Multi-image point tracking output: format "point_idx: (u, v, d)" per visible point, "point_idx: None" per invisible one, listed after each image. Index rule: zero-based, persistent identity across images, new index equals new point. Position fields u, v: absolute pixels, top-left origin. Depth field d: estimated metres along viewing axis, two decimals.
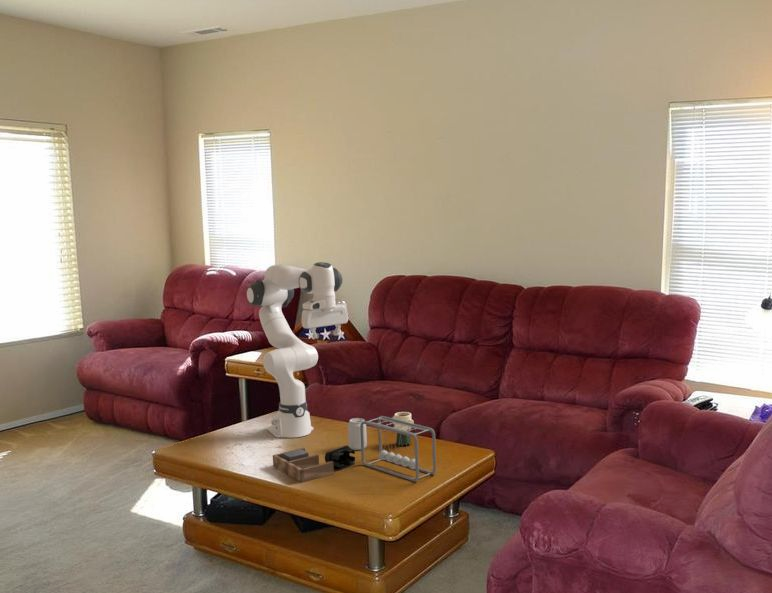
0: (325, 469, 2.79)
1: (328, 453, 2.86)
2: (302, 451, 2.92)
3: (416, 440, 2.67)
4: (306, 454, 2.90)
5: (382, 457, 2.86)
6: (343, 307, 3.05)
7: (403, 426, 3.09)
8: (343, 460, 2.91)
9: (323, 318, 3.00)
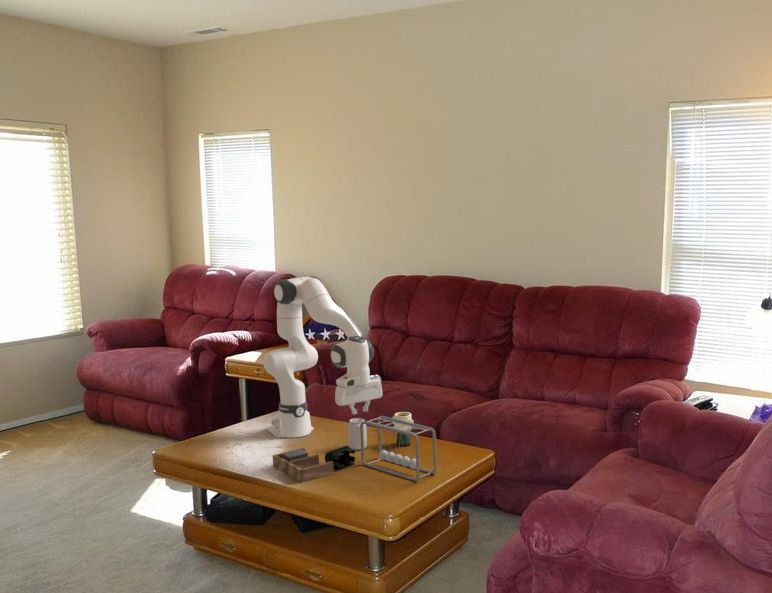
0: (325, 469, 2.79)
1: (328, 453, 2.86)
2: (302, 451, 2.92)
3: (417, 440, 2.68)
4: (305, 454, 2.90)
5: (382, 457, 2.86)
6: (377, 381, 2.95)
7: (403, 426, 3.09)
8: (343, 460, 2.91)
9: (357, 394, 2.90)
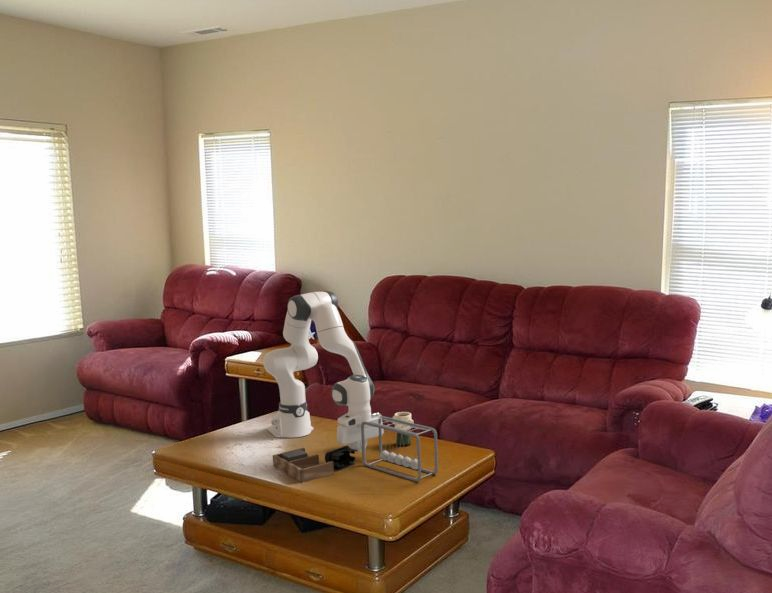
0: (325, 469, 2.79)
1: (328, 453, 2.86)
2: (301, 451, 2.91)
3: (418, 440, 2.67)
4: (305, 454, 2.89)
5: (383, 457, 2.86)
6: None
7: (403, 426, 3.09)
8: (343, 460, 2.91)
9: (358, 433, 2.92)
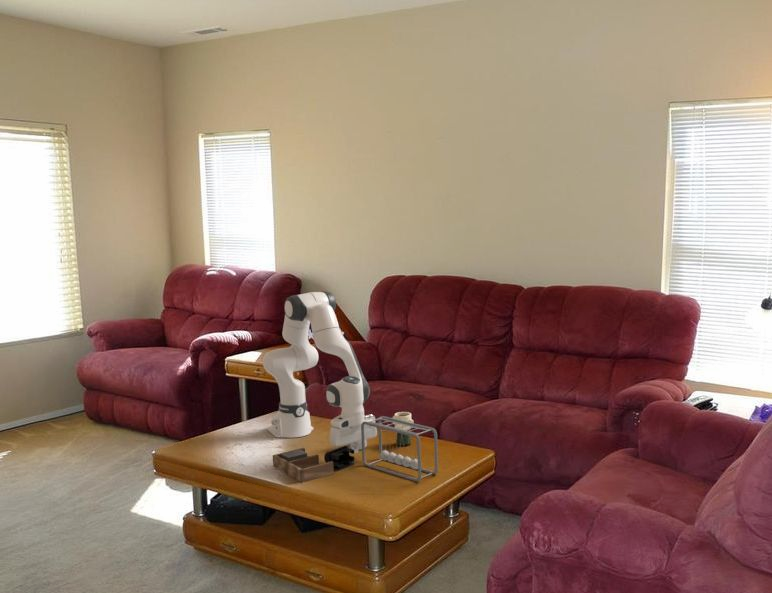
0: (325, 469, 2.79)
1: (328, 453, 2.86)
2: (301, 451, 2.91)
3: (418, 440, 2.67)
4: (305, 454, 2.89)
5: (383, 457, 2.86)
6: (372, 421, 2.95)
7: (403, 426, 3.09)
8: (343, 460, 2.91)
9: (352, 435, 2.90)
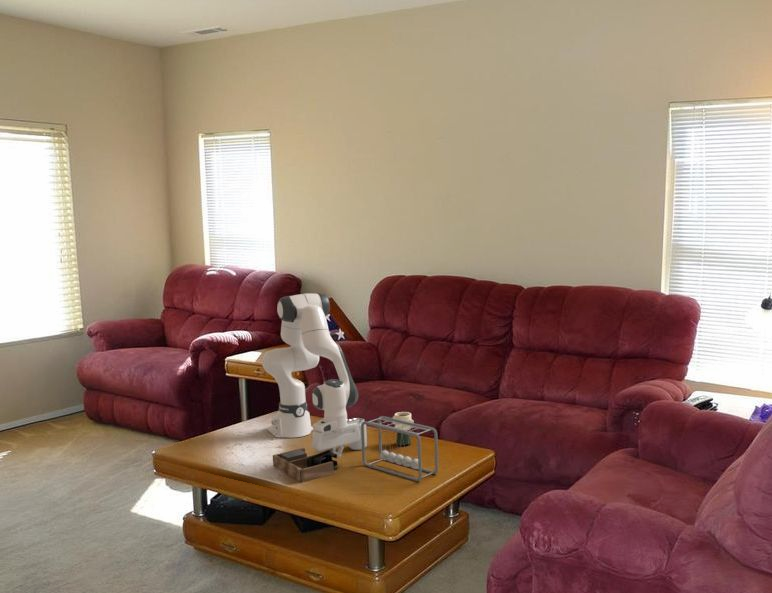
0: (325, 469, 2.79)
1: (310, 458, 2.81)
2: (300, 452, 2.91)
3: (419, 440, 2.67)
4: (304, 455, 2.89)
5: (383, 457, 2.86)
6: (355, 425, 2.90)
7: (403, 426, 3.09)
8: None
9: (334, 439, 2.85)
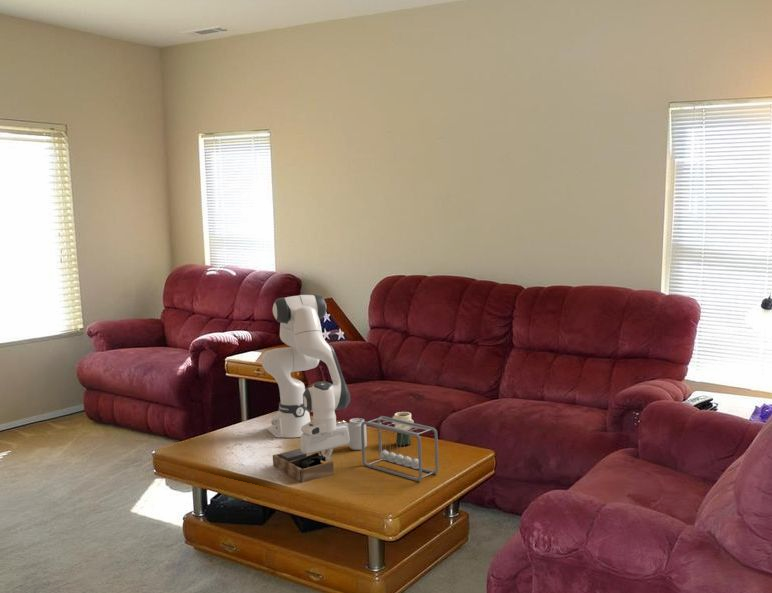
0: (325, 469, 2.79)
1: (298, 461, 2.79)
2: (300, 452, 2.91)
3: (419, 440, 2.68)
4: (304, 455, 2.89)
5: (383, 457, 2.86)
6: (344, 428, 2.88)
7: (403, 426, 3.09)
8: None
9: (323, 442, 2.82)
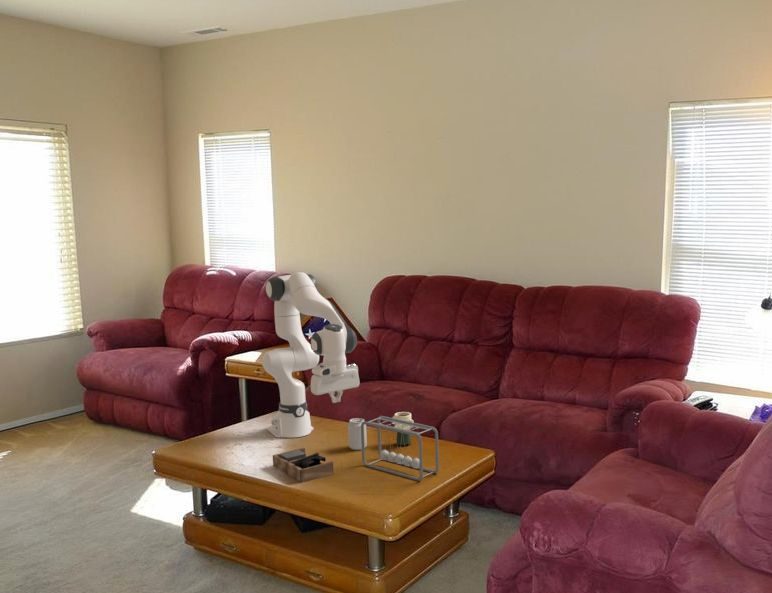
0: (325, 469, 2.79)
1: (298, 461, 2.79)
2: (299, 452, 2.91)
3: (420, 439, 2.68)
4: (303, 455, 2.89)
5: (383, 457, 2.86)
6: (354, 371, 2.91)
7: (403, 426, 3.09)
8: None
9: (333, 383, 2.86)
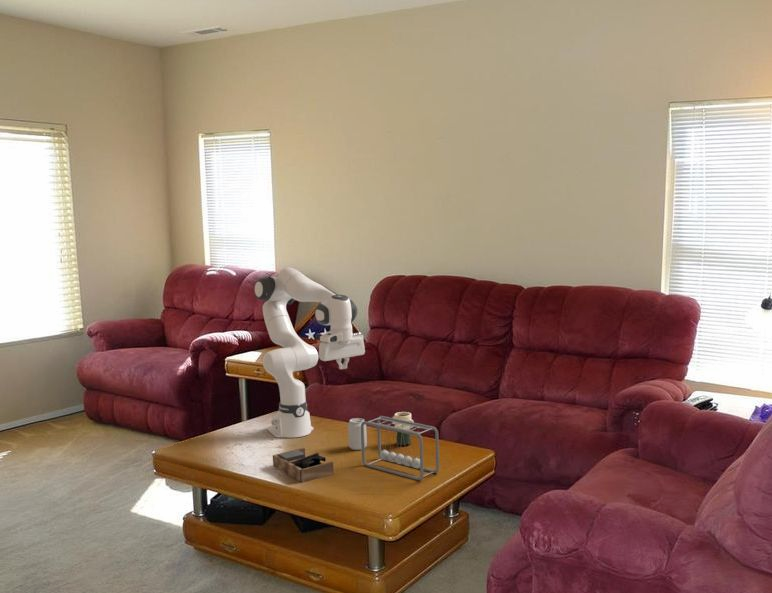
0: (325, 469, 2.79)
1: (298, 461, 2.79)
2: (299, 452, 2.91)
3: (421, 439, 2.68)
4: (303, 455, 2.88)
5: (383, 457, 2.86)
6: (360, 339, 3.06)
7: (403, 426, 3.09)
8: None
9: (340, 350, 3.01)
